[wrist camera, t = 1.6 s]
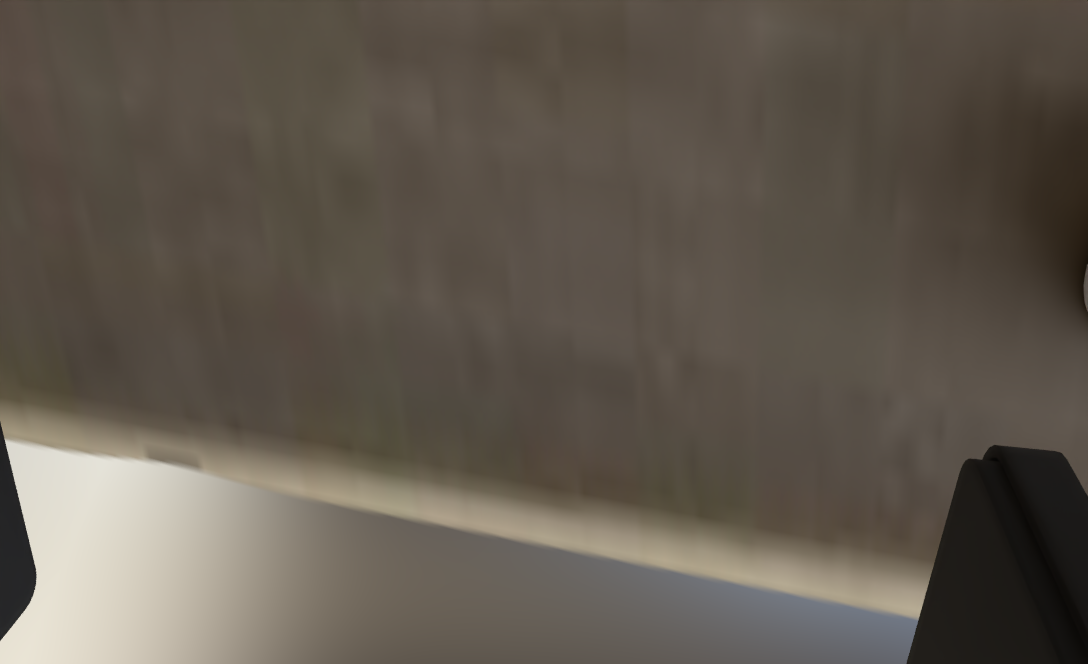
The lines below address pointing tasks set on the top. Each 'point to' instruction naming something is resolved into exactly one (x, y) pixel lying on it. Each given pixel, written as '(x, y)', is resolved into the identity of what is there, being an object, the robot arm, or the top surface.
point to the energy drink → (1086, 288)
